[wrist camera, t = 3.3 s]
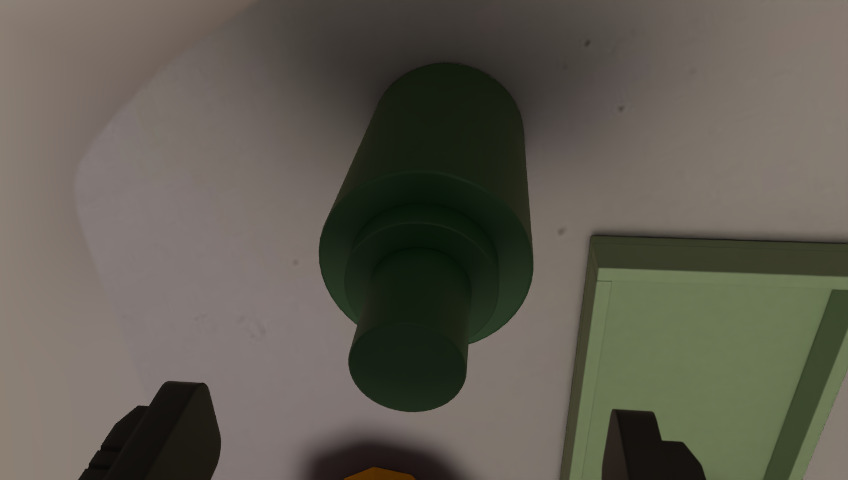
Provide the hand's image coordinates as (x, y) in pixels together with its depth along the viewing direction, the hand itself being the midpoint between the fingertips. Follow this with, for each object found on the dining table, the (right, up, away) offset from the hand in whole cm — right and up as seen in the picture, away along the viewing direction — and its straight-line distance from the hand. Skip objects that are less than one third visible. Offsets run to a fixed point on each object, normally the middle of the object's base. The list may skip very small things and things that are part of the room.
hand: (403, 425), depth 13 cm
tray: (+13, -9, +21) cm, 26 cm away
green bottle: (+1, +8, +12) cm, 15 cm away
